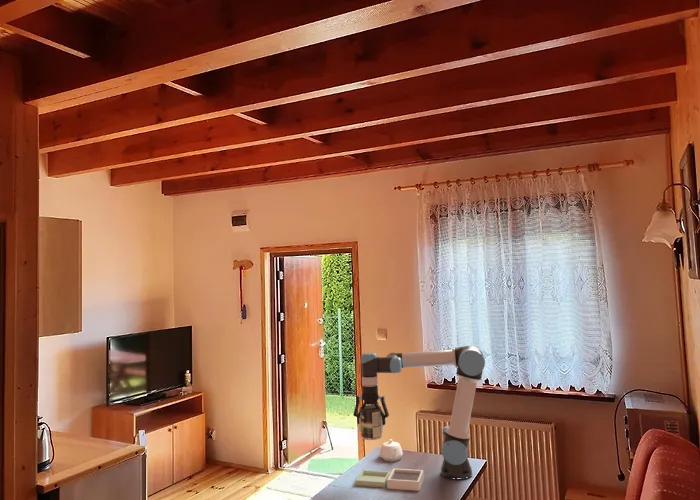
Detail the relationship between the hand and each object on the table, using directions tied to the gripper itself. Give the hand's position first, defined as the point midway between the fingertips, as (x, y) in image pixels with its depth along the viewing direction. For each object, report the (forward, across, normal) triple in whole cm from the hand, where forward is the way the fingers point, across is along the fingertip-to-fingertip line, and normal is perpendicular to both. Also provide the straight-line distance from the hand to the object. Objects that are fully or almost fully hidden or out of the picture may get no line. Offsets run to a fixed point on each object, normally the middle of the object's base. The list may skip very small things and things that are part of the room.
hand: (371, 431), depth 257 cm
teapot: (+24, -2, -33) cm, 41 cm away
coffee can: (+3, 0, 0) cm, 3 cm away
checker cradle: (+24, -16, 0) cm, 29 cm away
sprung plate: (+22, -16, 0) cm, 27 cm away
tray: (+24, 0, 0) cm, 24 cm away
